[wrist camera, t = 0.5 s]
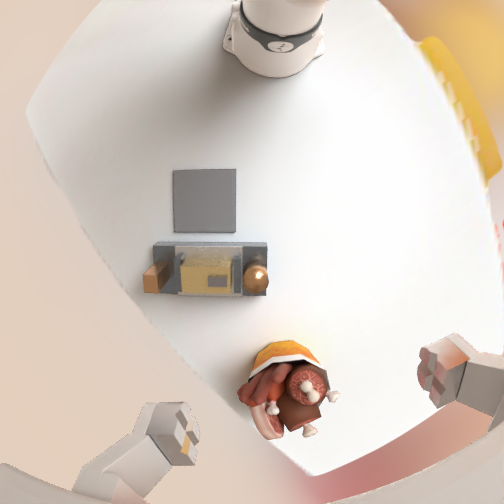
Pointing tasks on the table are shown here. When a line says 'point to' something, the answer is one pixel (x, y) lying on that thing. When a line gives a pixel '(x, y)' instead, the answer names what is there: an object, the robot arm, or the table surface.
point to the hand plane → (241, 253)
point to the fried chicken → (286, 390)
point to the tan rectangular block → (206, 276)
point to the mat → (205, 200)
